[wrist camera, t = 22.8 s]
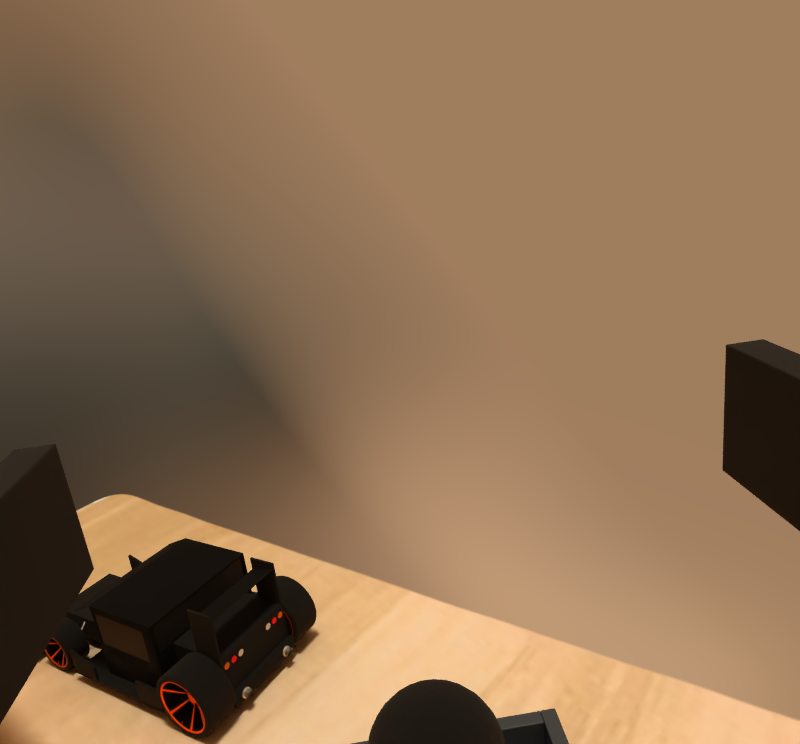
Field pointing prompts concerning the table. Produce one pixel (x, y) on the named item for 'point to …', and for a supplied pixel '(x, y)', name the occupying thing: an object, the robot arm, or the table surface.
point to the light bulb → (436, 717)
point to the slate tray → (530, 728)
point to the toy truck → (185, 631)
